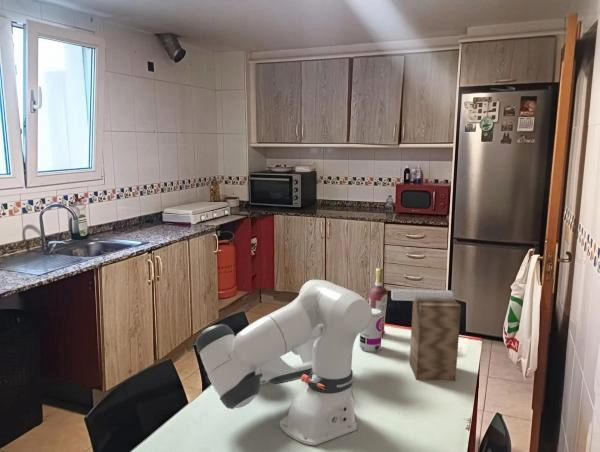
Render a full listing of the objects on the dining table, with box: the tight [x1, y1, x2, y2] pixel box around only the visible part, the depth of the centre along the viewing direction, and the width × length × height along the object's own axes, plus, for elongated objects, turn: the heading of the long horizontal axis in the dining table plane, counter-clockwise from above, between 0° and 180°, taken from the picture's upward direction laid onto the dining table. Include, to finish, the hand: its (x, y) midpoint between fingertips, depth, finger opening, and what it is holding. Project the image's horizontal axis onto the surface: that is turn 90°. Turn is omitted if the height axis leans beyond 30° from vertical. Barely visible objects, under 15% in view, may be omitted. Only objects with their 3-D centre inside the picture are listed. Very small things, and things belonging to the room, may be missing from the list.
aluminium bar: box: [390, 288, 454, 302], centre depth 168 cm, size 20×3×3 cm, turn 89°
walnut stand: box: [409, 297, 462, 382], centre depth 170 cm, size 13×12×26 cm
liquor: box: [368, 267, 389, 336], centre depth 203 cm, size 7×7×28 cm
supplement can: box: [358, 308, 383, 353], centre depth 191 cm, size 8×8×15 cm
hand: (367, 306), depth 170 cm, fingers open, 8 cm apart
